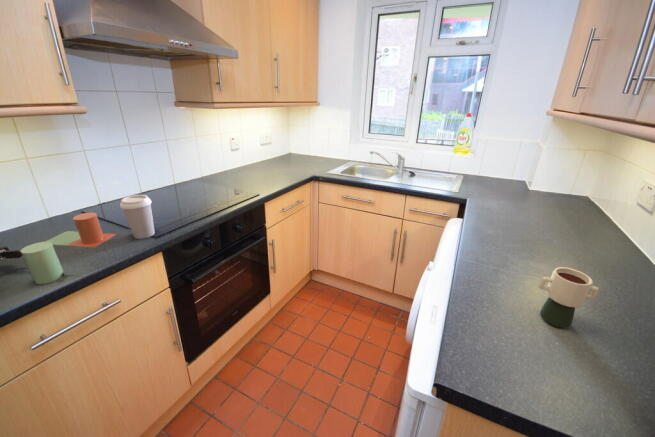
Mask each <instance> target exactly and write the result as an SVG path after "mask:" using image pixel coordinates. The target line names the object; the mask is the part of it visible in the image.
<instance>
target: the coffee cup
mask: <svg viewBox="0 0 655 437" xmlns="http://www.w3.org/2000/svg"><path fill="white" fill-rule="evenodd" d="M152 203H153V201H152V199H151V198H150V197H149V196H148V195H146V194H132V195H128V196H125V197H123V198H122V199H121V201H120V204H119V208H120V209H122V211H123V214H124V215H125V219H126V220H127V223H128V225H129V228H130V230H131V233H132V235H133V238H134V239H137V240H142V239H147V238H150V237H152V236H154V235H155V234H156V233H155V225H154V218H153V210H152Z"/></svg>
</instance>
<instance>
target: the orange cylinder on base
mask: <svg viewBox="0 0 655 437" xmlns="http://www.w3.org/2000/svg"><path fill="white" fill-rule="evenodd" d="M72 219H73V223H74V225H75V228H76V230H77V231H76V232H78V233H79V236H80V239H81V242H82V243H83V244H91V243H95V242H98V241H101V240H102V239H104V235H103V233H104V232H103V229H102V226H101V223H100V220H99V217H98V213H96V212H84V213H79V214H77V215H74V217H73V218H72Z"/></svg>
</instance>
